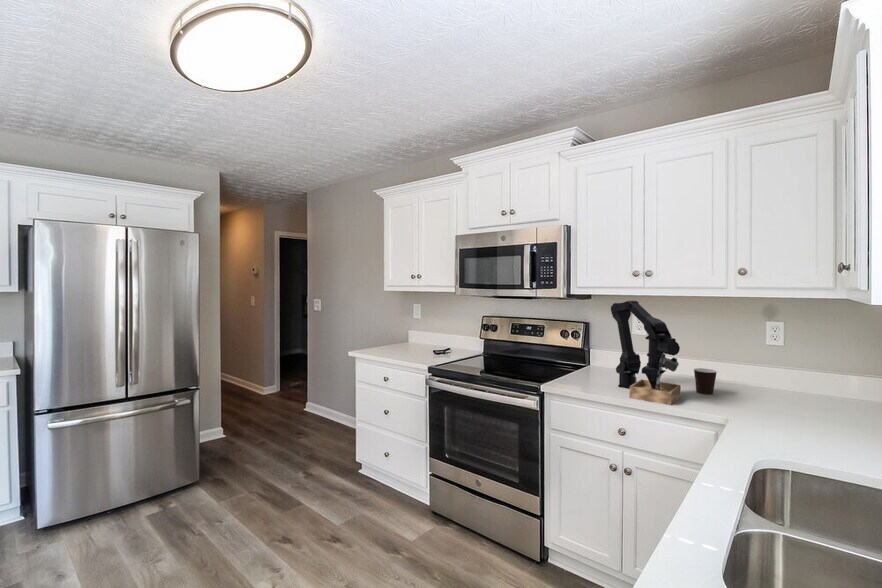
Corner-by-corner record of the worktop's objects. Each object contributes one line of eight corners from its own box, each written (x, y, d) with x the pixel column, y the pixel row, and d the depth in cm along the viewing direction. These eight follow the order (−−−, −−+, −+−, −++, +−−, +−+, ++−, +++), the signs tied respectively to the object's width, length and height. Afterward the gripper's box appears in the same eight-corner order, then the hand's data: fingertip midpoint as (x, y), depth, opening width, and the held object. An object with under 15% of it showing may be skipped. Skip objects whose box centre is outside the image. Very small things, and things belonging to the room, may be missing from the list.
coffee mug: (711, 396, 191) (712, 373, 191) (690, 392, 198) (690, 370, 197) (721, 392, 198) (722, 369, 198) (700, 388, 205) (701, 366, 205)
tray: (629, 397, 189) (629, 386, 189) (640, 390, 202) (641, 379, 201) (670, 405, 179) (671, 392, 179) (680, 396, 191) (680, 385, 191)
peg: (649, 392, 190) (649, 373, 190) (651, 390, 193) (652, 372, 192) (658, 394, 188) (658, 375, 187) (660, 392, 190) (661, 373, 190)
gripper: (671, 356, 177) (670, 395, 178) (682, 350, 191) (681, 386, 192) (641, 353, 184) (640, 390, 185) (654, 347, 199) (653, 382, 199)
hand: (655, 387), depth 190 cm, fingers closed on peg, 4 cm apart
